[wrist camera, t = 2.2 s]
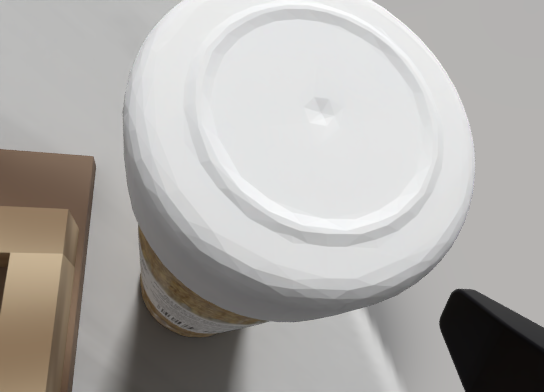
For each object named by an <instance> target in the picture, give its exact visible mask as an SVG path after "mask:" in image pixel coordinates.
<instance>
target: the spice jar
mask: <svg viewBox="0 0 544 392" xmlns="http://www.w3.org/2000/svg"><path fill="white" fill-rule="evenodd" d="M123 137H124V161H125V170H126V178H127V186H128V190H129V195H130V200H131V205H132V209H133V212H134V214H135V217H136V219H137V222H138V237H139V250H140V266H141V274H140V285H141V290H142V297H143V300H144V302H145V304H146V307H147V309H148V310H149V312H150V313H151V314H152V316H153V317H154V318H155V319H156V320H157V321H158V322H159V323H160V324H161V325H163V326H165V327H166V328H168V329H169V330H170V331H173V332H176V333H178V334H180V335H182V336H187V337H208V336H211V335H214V334H217V333H221V332H226V331H231V330H236V329H241V328H245V327H250V326H254V325H259V324H262V323H266V322H269V321H274V322H299V321H307V320H314V319H319V318H324V317H329V316H334V315H338V314H341V313H345V312H349V311H352V310H356V309H360V308H363V307H367V306H370V305H374V304H377V303H379V302H382V301H384V300H386V299H389V298H391V297H394V296H396V295H398V294H399V293H401V292H403V291H404V290H406V289H408V288H409V287H411V286H412V285H414V284H416V283H417V282H418V281H419V280H421V279H422V278H423V277H424V276H426V275H427V274H428V273H429V272H430V271H431V270H432V269H433V268H434V267H435V266H436V265H437V264H438V263H439V262H440V261H441V260H442V258H443V257H444V256H445V254H446V253H447V252H448V251H449V249H450V248H451V247H452V245H453V243H454V241H455V240H456V238H457V236H458V234H459V232H460V230H461V228H462V226H463V224H464V221H465V219H466V216H467V212H468V210H469V207H470V203H471V199H472V194H473V187H474V178H475V155H474V145H473V138H472V134H471V129H470V125H469V121H468V118H467V115H466V112H465V109H464V107H463V104H462V101H461V99H460V97H459V95H458V93H457V90H456V88H455V86H454V84H453V83H452V81H451V80H450V78H449V76H448V74H447V73H446V71H445V70H444V68H443V67H442V65H441V64H440V62H439V61H438V60H437V58H436V57H435V55H434V54H433V53H432V52H431V51H430V49H429V48H428V47H427V46H426V45H425V44H424V43H423V42H422V41H421V40H420V38H419V37H418V36H417V35H416V34H415V33H414V32H413V31H411V30H410V29H409V28H408V27H407V26H406V25H405V24H404V23H402V22H401V21H400V20H399V19H397V18H396V17H395V16H393V15H392V14H391V13H390V12H388V11H387V10H386V9H385V8H383V7H381V6H380V5H378V4H376V3H375V2H373V1H371V0H183V1H182V2H180V3H179V4H178V5H176V6H175V7H174V8H172V9H171V10H170V11H169V12H168V13H167V14H166V15H165V16H164V17H163V18H162V19H161V20H160V21H159V22H158V23H157V24H156V26H155V27H154V28H153V29H152V31H151V32H150V33H149V34H148V36H147V37H146V39H145V41H144V42H143V44H142V46H141V48H140V50H139V52H138V54H137V56H136V59H135V61H134V64H133V66H132V69H131V71H130V73H129V78H128V83H127V87H126V92H125V99H124V107H123Z"/></svg>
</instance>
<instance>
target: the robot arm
mask: <svg viewBox="0 0 544 392" xmlns="http://www.w3.org/2000/svg"><path fill="white" fill-rule="evenodd" d="M439 322H440V324H439V325H440V329H441V333H442V335H443V338H444V340H445V343H446V345H447V347H448V350H449V352H450V355H451V358H452V360H453V363H454V365H455V367H456V370H457V372H458V375H459V377H460V380H461V382H462V385H463V387H464V390H465V392H544V328H543V327H541V326H540V325H538V324H536V323H534V322H532V321H531V320H529V319H527V318H525V317H523V316H521V315H520V314H518V313H516V312H514V311H512V310H510V309H509V308H507V307H505V306H503V305H501V304H499V303H498V302H496V301H494V300H492V299H490V298H488V297H486V296H485V295H483V294H481V293H479V292H477V291H475V290H471V289H456V290H454V291H453V292H452V293H451V295H450V297H449V299H448V301H447V304H446V306H445V308H444V310H443V312H442V315H441V317H440V321H439Z"/></svg>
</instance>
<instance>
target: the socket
mask: <svg viewBox="0 0 544 392" xmlns="http://www.w3.org/2000/svg"><path fill="white" fill-rule="evenodd" d="M95 171H96V164H95V161H94V157H93V156H82V155H69V154H56V153H43V152H30V151H17V150H4V149H0V392H72V384H73V375H74V365H75V356H76V347H77V338H78V328H79V319H80V310H81V301H82V291H83V282H84V273H85V264H86V254H87V245H88V236H89V226H90V217H91V208H92V199H93V189H94V180H95Z"/></svg>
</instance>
